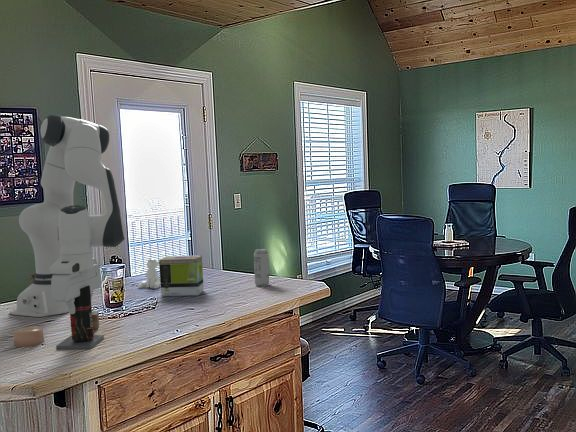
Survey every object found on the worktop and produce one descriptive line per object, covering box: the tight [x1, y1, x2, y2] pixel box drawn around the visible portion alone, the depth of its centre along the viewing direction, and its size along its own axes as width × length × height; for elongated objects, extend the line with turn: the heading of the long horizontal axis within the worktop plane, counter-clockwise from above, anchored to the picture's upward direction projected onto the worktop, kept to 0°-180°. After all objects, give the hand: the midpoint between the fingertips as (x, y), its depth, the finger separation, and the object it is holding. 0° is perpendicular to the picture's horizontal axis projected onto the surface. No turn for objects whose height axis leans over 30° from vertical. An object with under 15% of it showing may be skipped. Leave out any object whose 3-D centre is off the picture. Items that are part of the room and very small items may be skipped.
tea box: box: [158, 254, 204, 297], centre depth 230 cm, size 15×10×15 cm, turn 84°
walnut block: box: [92, 310, 100, 331], centre depth 183 cm, size 5×5×5 cm
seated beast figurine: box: [137, 258, 161, 290], centre depth 246 cm, size 10×9×12 cm
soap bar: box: [12, 325, 45, 348], centre depth 170 cm, size 8×8×4 cm
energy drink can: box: [253, 248, 270, 287], centre depth 242 cm, size 6×6×15 cm
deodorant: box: [69, 286, 95, 341], centre depth 167 cm, size 6×6×15 cm
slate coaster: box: [55, 334, 105, 350], centre depth 167 cm, size 10×10×1 cm
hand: (80, 310), depth 167 cm, fingers closed on deodorant, 6 cm apart
